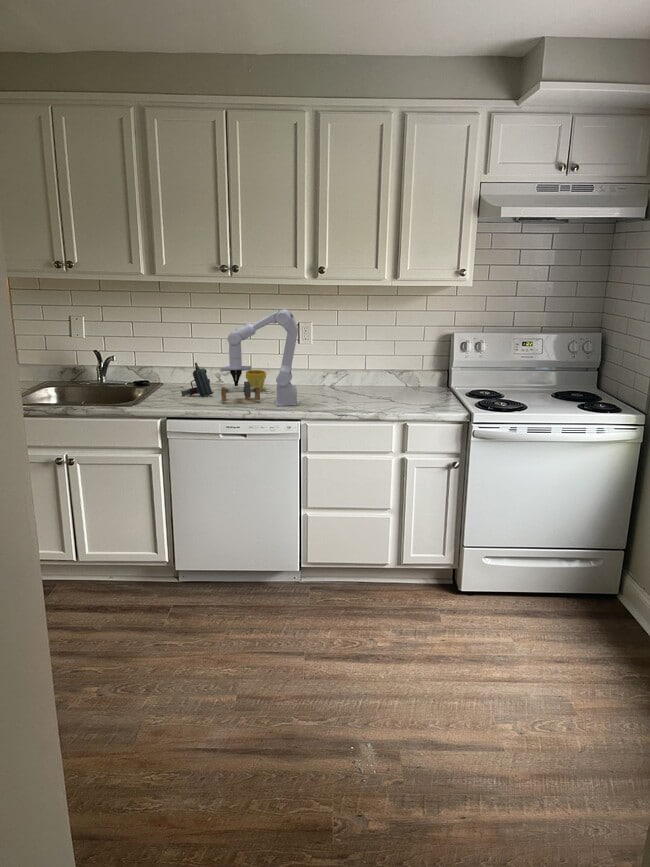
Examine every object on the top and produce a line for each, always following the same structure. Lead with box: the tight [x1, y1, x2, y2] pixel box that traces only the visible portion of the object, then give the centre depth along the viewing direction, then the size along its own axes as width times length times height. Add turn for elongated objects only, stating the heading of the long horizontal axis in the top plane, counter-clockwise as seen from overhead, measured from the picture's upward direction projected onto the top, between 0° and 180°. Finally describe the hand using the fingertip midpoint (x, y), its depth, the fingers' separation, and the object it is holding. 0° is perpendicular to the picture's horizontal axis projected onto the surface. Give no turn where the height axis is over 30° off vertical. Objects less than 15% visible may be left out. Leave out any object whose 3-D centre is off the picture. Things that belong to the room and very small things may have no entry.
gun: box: [180, 362, 214, 398], centre depth 313 cm, size 3×17×15 cm
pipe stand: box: [220, 386, 261, 405], centre depth 305 cm, size 18×6×7 cm, turn 102°
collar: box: [243, 381, 252, 398], centre depth 305 cm, size 2×6×6 cm, turn 12°
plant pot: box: [245, 369, 267, 392], centre depth 328 cm, size 10×10×10 cm
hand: (236, 385), depth 303 cm, fingers closed
